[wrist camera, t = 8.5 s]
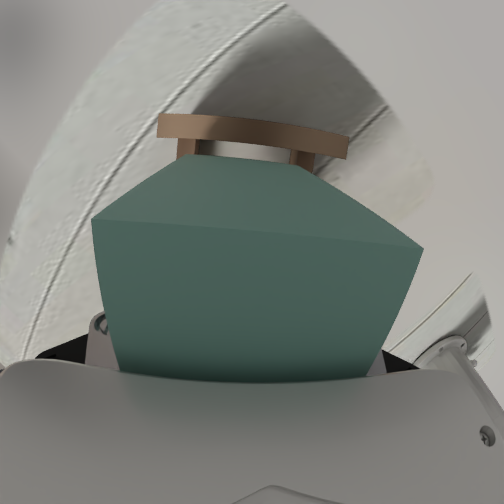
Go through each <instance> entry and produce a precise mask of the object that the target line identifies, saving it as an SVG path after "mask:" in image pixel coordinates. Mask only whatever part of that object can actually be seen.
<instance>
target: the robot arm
mask: <svg viewBox="0 0 504 504" xmlns="http://www.w3.org/2000/svg"><path fill="white" fill-rule="evenodd" d="M466 351H467V343H466V341H465V340H464V338H463V337H461V336H451V337H448V338H445V339H444V340H442V341H440V342H438V343H437V344H435V345H434V346H432V347H431V348H430V349H428V350H427V351H426V352H425V353H424V354H422V355H421V356H420V357H419V358H418V359H417V360H416V362H415V363H414V364H411V363H409V362H407V361H404V360H402V359H400V358H398V357H396V356H394V355H392V354H390V353H388V352H386V351H384V350H382V349H380V351H379V353H378V355H377V357H376V359H375V360H374V362H373V364H372V366H371V368H370V369H369V371H368V373H367V374H366V376H362V377H353V378H344V379H333V380H319V381H301V382H222V381H204V380H191V379H179V378H170V377H161V376H153V375H145V374H139V373H132V372H126V371H120V369H119V366H118V362H117V359H116V356H115V352H114V348H113V345H112V341H111V337H110V333H109V329H108V325H107V320H106V316H105V311H103V312H101V313H98V314H97V315H95V316H94V317H93V319H92V320H91V322H90V326H89V333H88V334H86V335H83V336H81V337H78V338H76V339H73V340H71V341H68V342H66V343H63V344H61V345H58V346H56V347H53V348H51V349H48V350H46V351H44V352H42V353H40V354H39V355H38V356H37V357H36V358H35V359H28V360H22V361H18V362H15V363H13V364H11V365H9V366H8V367H6V368H5V369H2V370H0V504H504V411H503V409H502V408H501V406H500V405H499V403H498V402H497V400H496V399H495V397H494V396H493V394H492V393H491V391H490V390H489V388H488V387H487V385H486V384H485V383H484V381H483V380H482V378H481V377H480V376H479V374H478V373H477V371H476V370H475V369H474V367H475V366H476V365H477V361H476V360H475V359H474V360H471V361H470V360H469V359H468V357H467V356H466V355H465V354H466Z"/></svg>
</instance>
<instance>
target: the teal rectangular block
mask: <svg viewBox="0 0 504 504" xmlns="http://www.w3.org/2000/svg"><path fill="white" fill-rule="evenodd" d="M91 223H92V234H93V244H94V252H95V260H96V267H97V273H98V280H99V285H100V291H101V296H102V302H103V307H104V311H105V316H106V320H107V325H108V329H109V333H110V337H111V341H112V345H113V348H114V352H115V356H116V359H117V362H118V366H119V369H120V371H126V372H132V373H139V374H145V375H153V376H161V377H170V378H179V379H191V380H204V381H222V382H301V381H319V380H333V379H344V378H353V377H362V376H366V374H367V373H368V371H369V369H370V368H371V366H372V364H373V362H374V360H375V359H376V357H377V355H378V353H379V351H380V349H381V347H382V345H383V344H384V342H385V340H386V338H387V336H388V334H389V332H390V330H391V328H392V325H393V323H394V321H395V319H396V317H397V315H398V313H399V310H400V308H401V306H402V304H403V301H404V299H405V297H406V294H407V292H408V290H409V287H410V285H411V282H412V280H413V277H414V274H415V272H416V269H417V266H418V264H419V261H420V258H421V255H422V252H423V250H424V249H423V248H422V247H421V246H420V245H418V244H417V243H416V242H414V241H413V240H412V239H410V238H409V237H407V236H406V235H405V234H404V233H402V232H401V231H399V230H398V229H397V228H395V227H394V226H393V225H391V224H390V223H388V222H387V221H385V220H384V219H383V218H381V217H380V216H378V215H377V214H375V213H374V212H372V211H371V210H369V209H368V208H366V207H365V206H363V205H362V204H360V203H359V202H357V201H356V200H354V199H353V198H351V197H350V196H348V195H346V194H345V193H343V192H342V191H340V190H338V189H337V188H335V187H334V186H332V185H330V184H329V183H327V182H325V181H324V180H322V179H320V178H319V177H317V176H315V175H313V174H312V173H310V172H308V171H307V170H305V169H303V168H301V167H300V166H297V165H291V164H284V163H276V162H269V161H261V160H252V159H243V158H233V157H221V156H209V155H194V154H185V155H184V156H182V157H180V158H179V159H177V160H176V161H174V162H172V163H171V164H169V165H167V166H166V167H164V168H163V169H161V170H160V171H158V172H156V173H155V174H153V175H152V176H150V177H149V178H147V179H146V180H144V181H143V182H141V183H140V184H138V185H137V186H135V187H134V188H133V189H131V190H130V191H128V192H127V193H125V194H124V195H123V196H121V197H120V198H118V199H117V200H116V201H114V202H113V203H112V204H110V205H109V206H108V207H106V208H105V209H104V210H102V211H101V212H100V213H98V214H97V215H96V216H94V217H93V218H92V219H91Z"/></svg>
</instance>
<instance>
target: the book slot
mask: <svg viewBox="0 0 504 504" xmlns="http://www.w3.org/2000/svg"><path fill="white" fill-rule="evenodd" d="M157 138H178V146H177V158H176V160H177V159H179V158H180V157H182V156H184V155H185V154H194V155H198V154H199V143H200V139H205V140H218V141H229V142H240V143H249V144H257V145H265V146H273V147H280V148H287V149H291V155H290V161H289V164H291V165H297V166H300V167H301V168H303V169H305V170H307V171H308V172H310V173H312V171H313V165H314V158H315V153H316V154H322V155H327V156H332V157H337V158H342V159H346V155H347V149H348V143H349V137H347V136H343V135H339V134H335V133H330V132H326V131H321V130H316V129H311V128H306V127H300V126H295V125H289V124H282V123H276V122H269V121H262V120H254V119H245V118H236V117H225V116H212V115H195V114H159V117H158V128H157Z"/></svg>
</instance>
